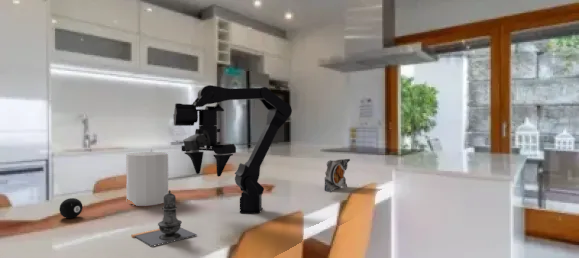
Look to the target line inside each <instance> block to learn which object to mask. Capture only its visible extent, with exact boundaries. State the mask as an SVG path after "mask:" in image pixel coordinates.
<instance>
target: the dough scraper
mask: <svg viewBox="0 0 579 258" xmlns="http://www.w3.org/2000/svg"><path fill="white" fill-rule="evenodd" d="M177 233H179V234H180V235H181V236H180V237H179V238H177V239H173V240H161V239H159V237H160V236H161V235H162V234H164V233H162V232H161V231H160V229H159V228H155V229H153V230H148V231H143V232H138V233H134V234H131V236H130V237H131V238H133V239H134V238H136V239H137V240H139V241H140V242H142V241H143V242H142V243H144V242H145V243H144V244H146V243H147V244H148V245H147V244H146V245H147V246H149V245H151V246H154V245H158V244H162V243H166V244H168V243H167V242H170V243H172V242H171V241H174V240H178V241H180V240H179V239H182V240H184V239H183V238H186V237H190V238H193V237H192V236H194V237H196V236H195V235H197V236H198V233H197V234H196V233H194V232H192V231H190V230H187V229H185V228H184V227H183V228H182V227H181V226H180V229H179V230H178V231H177ZM186 239H187V238H186ZM174 242H175V241H174ZM162 245H163V244H162ZM151 246H150V247H151ZM158 246H159V245H158ZM154 247H155V246H154Z"/></svg>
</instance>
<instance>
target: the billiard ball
mask: <svg viewBox="0 0 579 258" xmlns="http://www.w3.org/2000/svg"><path fill="white" fill-rule="evenodd" d="M58 210H59V214H60V215H61V216H62V217H63V218H65V217H66V219H73V217H74V218H76V217H78V216H79V215H81V214H82V211H83V203H82V201H81V200H80V199H78V198H76V197H75V198H66V199H65V200H63V201H62V202H61V203H60V205H59V209H58Z"/></svg>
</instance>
